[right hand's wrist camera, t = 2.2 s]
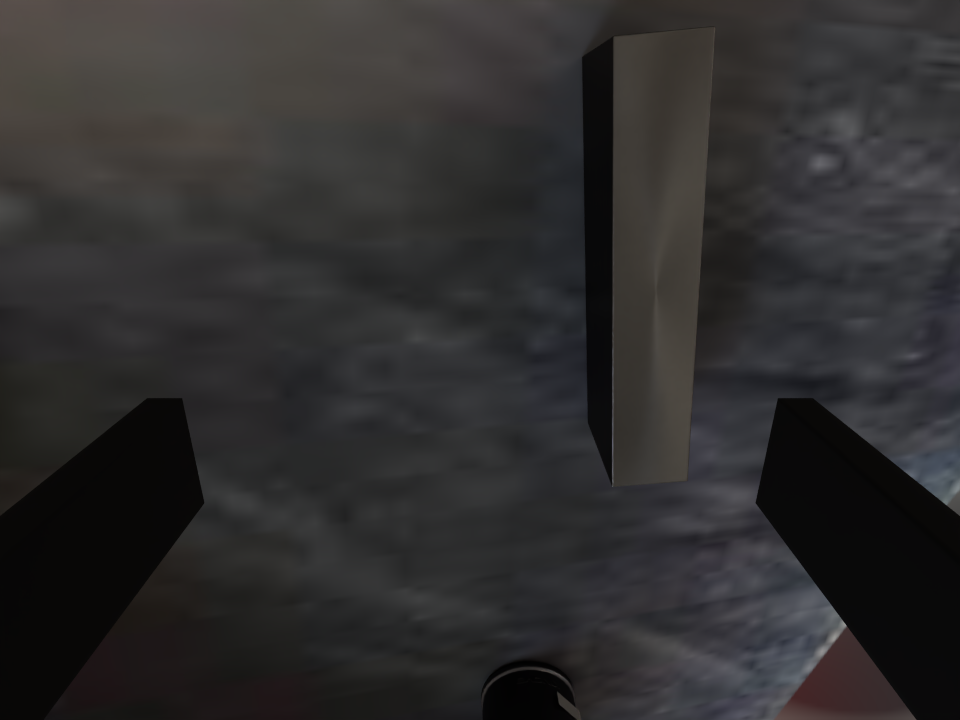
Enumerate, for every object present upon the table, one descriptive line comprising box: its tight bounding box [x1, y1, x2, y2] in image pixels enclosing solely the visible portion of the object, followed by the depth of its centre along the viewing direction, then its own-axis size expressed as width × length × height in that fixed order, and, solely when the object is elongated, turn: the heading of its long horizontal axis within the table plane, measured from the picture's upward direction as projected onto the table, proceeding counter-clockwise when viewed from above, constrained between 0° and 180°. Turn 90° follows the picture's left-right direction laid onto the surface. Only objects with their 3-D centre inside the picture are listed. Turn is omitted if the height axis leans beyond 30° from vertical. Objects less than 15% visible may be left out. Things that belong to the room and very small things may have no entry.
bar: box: [582, 26, 715, 487], centre depth 37 cm, size 27×5×9 cm, turn 5°
